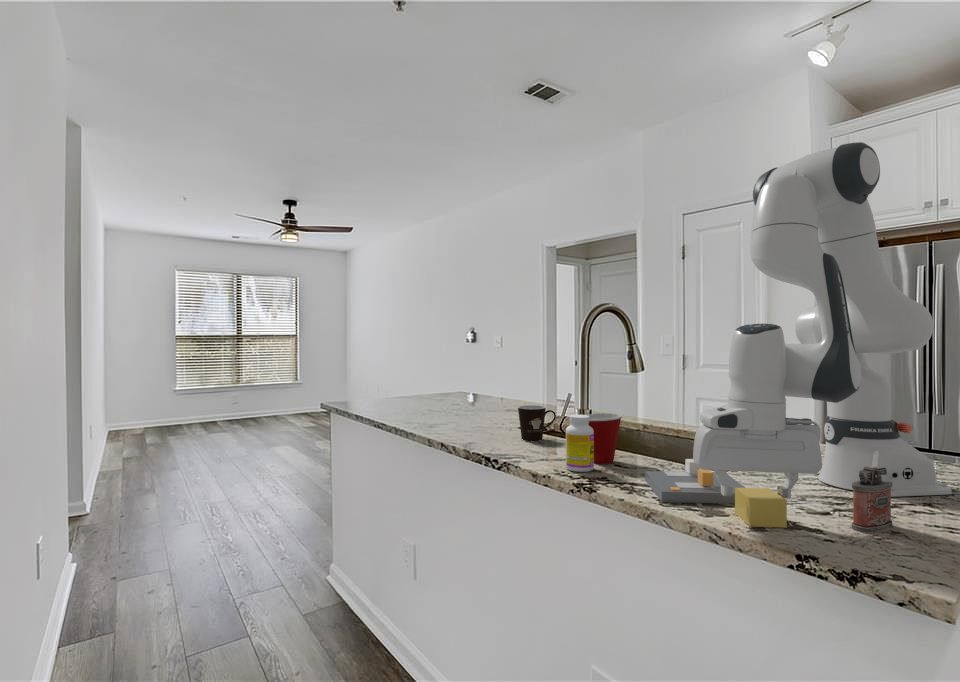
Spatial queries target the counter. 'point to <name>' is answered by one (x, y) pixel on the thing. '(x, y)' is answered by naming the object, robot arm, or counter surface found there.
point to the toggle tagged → (705, 477)
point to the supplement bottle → (579, 444)
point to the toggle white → (691, 466)
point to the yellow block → (761, 507)
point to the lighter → (872, 501)
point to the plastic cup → (605, 436)
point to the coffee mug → (533, 421)
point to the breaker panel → (688, 488)
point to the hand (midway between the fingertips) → (755, 496)
